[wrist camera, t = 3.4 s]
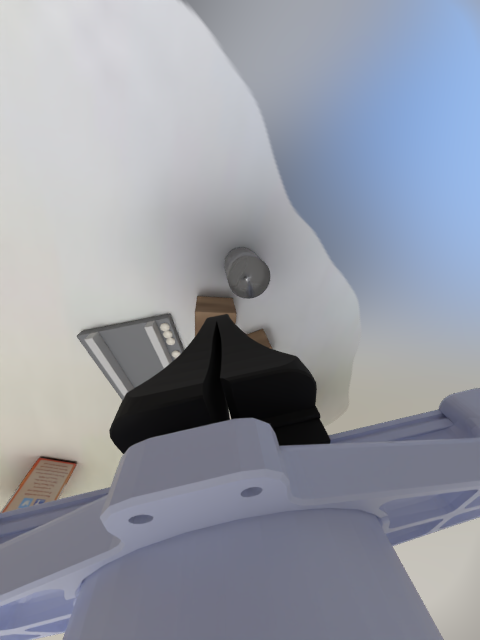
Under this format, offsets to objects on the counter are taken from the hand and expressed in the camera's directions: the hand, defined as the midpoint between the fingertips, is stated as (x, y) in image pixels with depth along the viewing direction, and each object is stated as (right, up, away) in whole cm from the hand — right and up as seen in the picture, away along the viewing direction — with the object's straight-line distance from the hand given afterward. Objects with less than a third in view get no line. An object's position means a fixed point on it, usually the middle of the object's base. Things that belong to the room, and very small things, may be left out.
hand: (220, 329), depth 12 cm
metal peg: (+1, +7, +9) cm, 11 cm away
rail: (-11, -6, +14) cm, 19 cm away
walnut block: (-2, +2, +11) cm, 11 cm away
